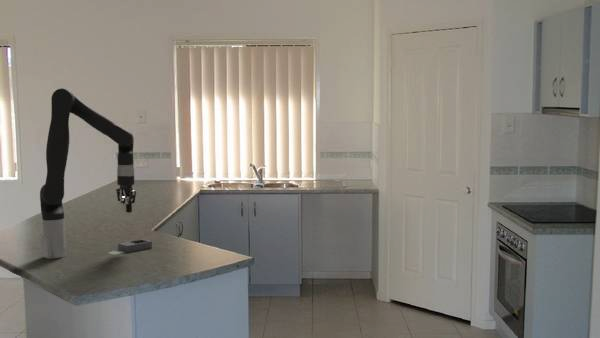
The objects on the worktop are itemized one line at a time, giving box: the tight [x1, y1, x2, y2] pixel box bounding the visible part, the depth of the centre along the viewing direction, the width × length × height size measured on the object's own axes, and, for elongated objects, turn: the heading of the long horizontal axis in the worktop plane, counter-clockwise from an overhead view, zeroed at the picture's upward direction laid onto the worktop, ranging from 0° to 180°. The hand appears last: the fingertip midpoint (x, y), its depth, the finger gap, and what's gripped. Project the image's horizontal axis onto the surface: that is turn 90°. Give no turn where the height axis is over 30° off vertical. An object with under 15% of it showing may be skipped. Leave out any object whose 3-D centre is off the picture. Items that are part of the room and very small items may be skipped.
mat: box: [106, 249, 127, 256], centre depth 296 cm, size 6×6×1 cm
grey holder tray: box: [117, 238, 153, 253], centre depth 303 cm, size 13×8×4 cm, turn 134°
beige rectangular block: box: [118, 202, 135, 222], centre depth 299 cm, size 4×4×8 cm
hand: (126, 211), depth 299 cm, fingers closed on beige rectangular block, 4 cm apart
